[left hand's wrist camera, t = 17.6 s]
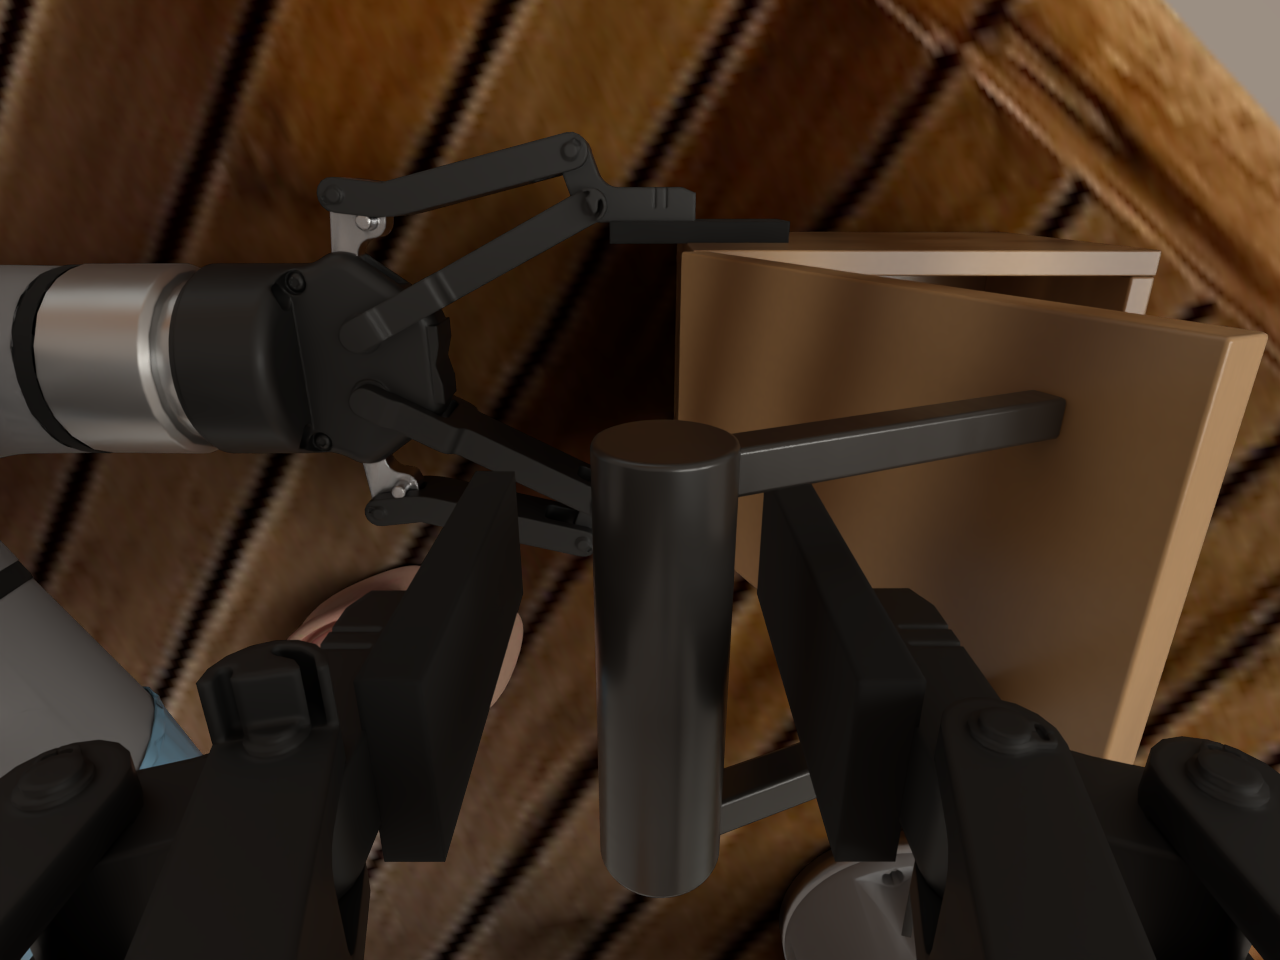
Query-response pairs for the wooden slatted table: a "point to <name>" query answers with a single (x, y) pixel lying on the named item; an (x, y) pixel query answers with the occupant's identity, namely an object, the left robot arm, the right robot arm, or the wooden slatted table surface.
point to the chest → (964, 265)
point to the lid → (896, 515)
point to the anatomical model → (393, 579)
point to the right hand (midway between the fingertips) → (773, 359)
